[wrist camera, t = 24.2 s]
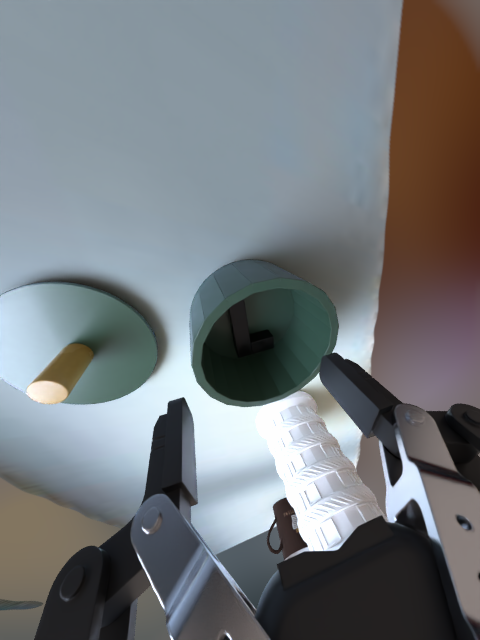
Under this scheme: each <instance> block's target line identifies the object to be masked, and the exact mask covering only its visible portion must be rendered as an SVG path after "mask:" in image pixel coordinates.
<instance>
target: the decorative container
mask: <svg viewBox="0 0 480 640" xmlns="http://www.w3.org/2000/svg"><path fill="white" fill-rule="evenodd" d="M316 413H317V404H316V402H315V401H314V399H313V398H312V397H311V395H310V394H308V393H306V392H303V391H297V392H295V393H293V394H292V395H290V396H288V397H286V398H284V399H282V400H279V401H276V402H273V403H269V404H266V405H264V406H263V407H262V408H261V410H260V411H259V413H258V415H257V418H256V426H257V429H258V432H259V434H260V435H261V436H262V437H263V438H265V439H268V446H269V449H270V452H271V453H272V455H273V456H274V457H275V460H276V468H277V472H278V474H279V476H280V477H281V479H283V481H284V483H285V486H286V491H285V492H286V495H287V499H288V502H289V503H290V505H291V506H292V507H293V508H294V510H295V513H296V515H297V518H298V523H297V524H298V528H299V533H300V535H301V537H302V538H303V540H304V541H305V542H306V543H307V545H308V547H309V550H310V551H335V550H338V549H339V548H340V547H341V546H342V544H343V543H344V542H345V541H346V540H347V538H348V537H349V536H350V535H351V534H352V533H353V531H354V530H355V529H356V528H357V527H358V526H359V525H361V524H364V523H366V522H368V521H370V520H372V519H374V518H376V517H378V516H381V515H382V516H383V518H384V519H385V521H386V522H388V519H387V518H386V517H385V515H384V514H383V512H382V511H381V509H380V508H379V506H378V505H377V500H376V498H375V495H374V493H373V492H372V491H371V490H370V489H369V488H368V487H367V486H366V485H364V484H363V482H362V481H361V479H360V478H359V476H358V475H357V471H356V469H355V466H354V464H353V463H352V462H351V461H350V460H349V459H348V458H347V457H345V456H344V454H343V453H342V451H341V450H340V445H339V443H338V441H337V439H336V438H335V437H333V436H332V435H331V434H330V433H329V432H328V430H327V428H326V425H325V422H324V420H323V419H322V418H321V417H320V416H319V415H317V414H316Z"/></svg>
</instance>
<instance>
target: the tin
mask: <svg viewBox="0 0 480 640" xmlns="http://www.w3.org/2000/svg"><path fill="white" fill-rule="evenodd" d="M243 299H244V300H245V307H246V314H247V320H248V327H249V334H253V333H256V332H260V331H264V330H267V329H268V330H269V331H270V333H271V334H272V335H273V337H274V348H272V349H269V350H266V351H262V352H259V353H255V354H251V355H248V356H245V357H241V358H238V355H237V353H236V350H235V345H234V341H233V336H232V331H231V326H230V321H229V316H228V311H227V310H228V309H229V308H230V307H231V306H232V305H234V304H236V303H238V302H239V301H241V300H243ZM338 328H339V324H338V319H337V314H336V309H335V306H334V305H333V303H332V302H331V301H330V299H329V298H328V296H327V295H326V293H325V292H324V291H323V290H321V289H319V288H317V287H316V286H314V285H312V284H310V283H309V282H307V281H305V280H303V279H301V278H299V277H297V276H295V275H294V274H292V273H290V272H288V271H286V270H284V269H282V268H280V267H278V266H276V265H274V264H272V263H270V262H265V261H260V260H241V261H237V262H233V263H230V264H228V265H225V266H223V267H222V268H220V269H218V270H216V271H215V272H214V273H213V274H211V275H210V276H209V277H208V278H207V279H206V280H205V281H204V282H203V283H202V285H201V286H200V287H199V289H198V291H197V292H196V294H195V297H194V299H193V302H192V305H191V310H190V347H191V366H192V368H193V371H194V374H195V377H196V380H197V383H198V384H199V385H200V386H201V387H202V388H203V389H204V391H205V392H206V393H207V394H208V395H209V396H210V397H212V398H214V399H216V400H218V401H220V402H222V403H224V404H227V405H233V406H240V407H252V406H262V405H266V404H269V403H273V402H276V401H279V400H282V399H284V398H286V397H288V396H290V395H292V394H293V393H295V392H297V391H299V390H300V389H301V388H303V387H304V386H305V385H306V384H308V383H309V382H310V381H311V380H312V379H314V378H315V377H316V375H317V374H318V373H319V372H320V366H321V358H322V356H325V355H328V354H332V352H333V349H334V347H335V345H336V341H337V335H338Z"/></svg>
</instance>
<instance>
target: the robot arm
mask: <svg viewBox="0 0 480 640" xmlns="http://www.w3.org/2000/svg"><path fill="white" fill-rule="evenodd" d="M319 375H320V379H321V382H322V383H323V385H324V386H325V387H326V388H327V390H328V391H329V392H330V393H331V395H332V396H333V397H334V398H335V399H336V401H337V402H338V403H339V404H340V406H341V407H342V408H343V409H344V410H345V412H346V413H347V414H348V415H349V417H350V418H351V419H352V420H353V421H354V423H355V424H356V425H357V426H358V428H359V429H360V430H361V431H362V432H363V434H364V435H365V436H366V437H367V438H370V437H373V436H376V437H377V438H378V439H379V448H380V454H381V459H382V464H383V470H384V476H385V481H386V488H387V493H386V512H387V519H388V522H386V521H385V519H384V518H383V516H382V515H381V516H378V517H376V518H374V519H372V520H370V521H368V522H366V523H364V524H361V525H359V526H358V527H357V528H356V529H355V530H354V531H353V533H352V534H351V535H350V536H349V537H348V538H347V540H346V541H345V542H344V543H343V544H342V546H341V547H340V548H339V549H338V550H335V551H304V552H302V553H300V554H298V555H296V556H294V557H291V558H289V559H287V560H285V561H283V562H281V563H279V564H277V567H278V570H277V572H276V573H275V574H274V575H273V576H272V577H271V579H270V580H269V582H268V583H267V585H266V587H265V589H264V591H263V593H262V596H261V599H260V601H259V604H258V607H257V610H256V609H255V608H254V606H253V605H252V604H251V602H250V601H249V600H248V598H247V597H246V596H245V594H244V593H243V591H242V590H241V589H240V587H239V586H238V585H237V584H236V582H235V581H234V579H233V578H232V577H231V575H230V574H229V573H228V572H227V570H226V569H225V568H224V566H223V565H222V564H221V563H220V561H219V560H218V559H217V557H216V556H215V555H214V553H213V552H212V550H211V549H210V548H209V546H208V545H207V544H206V542H205V541H204V540H203V538H202V537H201V536H200V534H199V533H198V532H197V530H196V529H195V527H194V526H193V525H192V523H191V506H193V505H196V504H198V500H197V480H196V460H195V440H194V423H193V418H192V414H191V412H190V409H189V407H188V405H187V403H186V400H185V398H184V397H183V398H179V399H176V400H173V401H169V403H168V410H167V414H165V415H161V416H159V418H158V420H157V422H156V424H155V426H154V431H153V438H152V439H153V442H152V446H151V453H150V460H149V468H148V475H147V482H146V490H145V495H144V498H143V501H142V504H141V506H140V508H139V509H138V511H137V513H136V514H135V516H134V517H133V518H132V520H131V521H130V522H129V523H128V524H127V525H126V526H125V527H123V528H122V529H121V530H120V531H118V532H117V533H116V534H115V535H114V536H112V537H111V538H110V539H108V540H107V541H106V542H105V543H103V544H102V545H101V546H100V547H96V546H88V547H85V548H83V549H81V550H80V551H78V552H77V553H76V554H75V555H73V556H72V557H71V558H70V559H69V560H68V562H67V563H66V564H65V565H64V567H63V568H62V570H61V571H60V572H59V574H58V575H57V577H56V579H55V581H54V583H53V585H52V587H51V590H50V592H49V595H48V598H47V601H46V604H45V607H44V610H43V614H42V617H41V620H40V623H39V626H38V629H37V632H36V635H35V639H34V640H134V636H135V624H136V611H137V600H138V597H139V596H140V595H141V594H142V593H143V592H144V591H145V590H146V589H147V588H148V587H149V586H150V585H151V584H152V586H153V588H154V590H155V592H156V594H157V596H158V598H159V600H160V602H161V605H162V607H163V609H164V611H165V614H166V625H167V629H168V632H169V635H170V638H171V640H480V457H479V456H478V454H479V453H480V409H478V408H476V407H473V406H470V405H466V404H454V405H453V406H451V408H450V409H449V410H448V411H424V410H423V409H421V408H419V407H417V406H414V405H411V404H404V403H402V402H401V401H400V400H398V399H397V398H396V397H395V396H394V395H393V394H391V393H390V392H389V391H388V390H387V389H385V388H384V387H383V386H382V385H381V384H380V383H379V382H378V381H376V380H375V379H374V378H372V376H371V375H369V374H368V373H367V372H365V370H364V369H362V368H361V367H360V366H359V365H358V364H356V363H354V362H352V361H350V360H348V359H345V360H344V359H343V358H342V357H341V356H340V355H339V354H337V353H332V354H328V355H325V356H322V358H321V366H320V373H319Z"/></svg>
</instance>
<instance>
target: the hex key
mask: <svg viewBox="0 0 480 640" xmlns="http://www.w3.org/2000/svg"><path fill="white" fill-rule="evenodd" d="M227 311H228V316H229V321H230V326H231V331H232V336H233V341H234V345H235V350H236V353H237V355H238V358H241V357H245V356H248V355H251V354H255V353H259V352H262V351H266V350H269V349H272V348H274V337H273V335H272V334H271V333H270V331H269V330H268V329H267V330H264V331H260V332H256V333H253V334H249V327H248V320H247V314H246V307H245V300H244V299H243V300H241V301H239V302H238V303H236V304H234V305H232V306H231V307H230V308H229V309H228V310H227Z"/></svg>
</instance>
